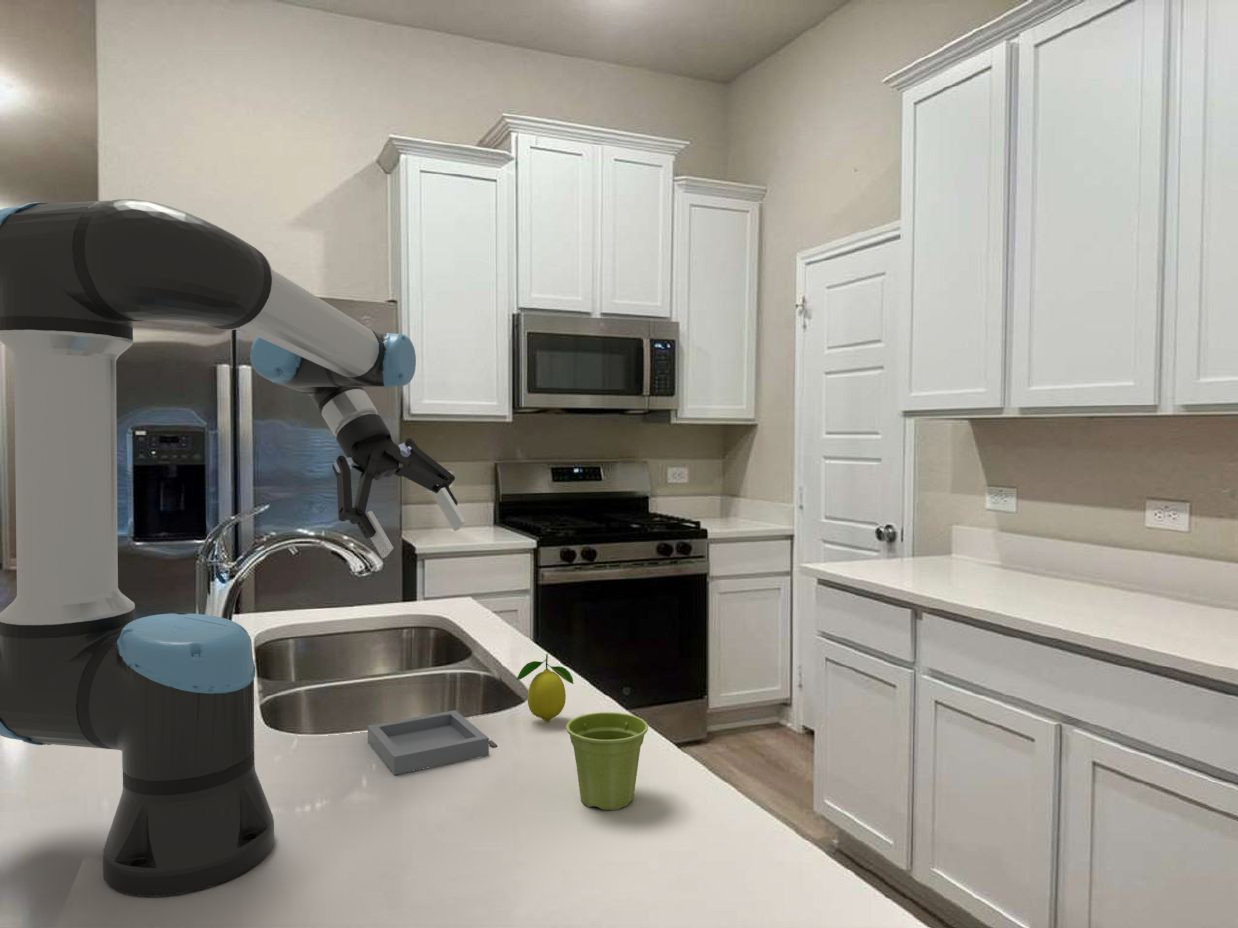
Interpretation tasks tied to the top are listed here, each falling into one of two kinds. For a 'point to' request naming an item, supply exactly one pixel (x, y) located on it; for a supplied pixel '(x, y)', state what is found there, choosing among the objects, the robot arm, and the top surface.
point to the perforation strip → (492, 743)
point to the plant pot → (607, 756)
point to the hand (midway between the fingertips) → (425, 539)
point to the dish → (427, 741)
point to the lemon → (546, 690)
